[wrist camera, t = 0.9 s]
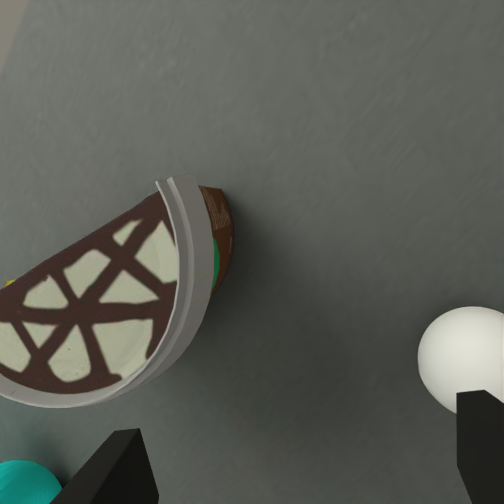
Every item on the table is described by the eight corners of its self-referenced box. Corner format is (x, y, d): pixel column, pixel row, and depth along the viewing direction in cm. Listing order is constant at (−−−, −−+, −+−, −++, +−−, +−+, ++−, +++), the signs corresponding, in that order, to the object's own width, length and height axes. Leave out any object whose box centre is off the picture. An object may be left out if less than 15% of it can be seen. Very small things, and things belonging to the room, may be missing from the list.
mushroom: (446, 404, 24) (468, 461, 19) (392, 327, 24) (400, 365, 19) (537, 356, 23) (586, 405, 18) (480, 275, 23) (514, 301, 18)
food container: (121, 368, 28) (-5, 468, 18) (70, 278, 28) (-83, 332, 18) (300, 276, 25) (263, 340, 15) (244, 174, 24) (170, 172, 15)
